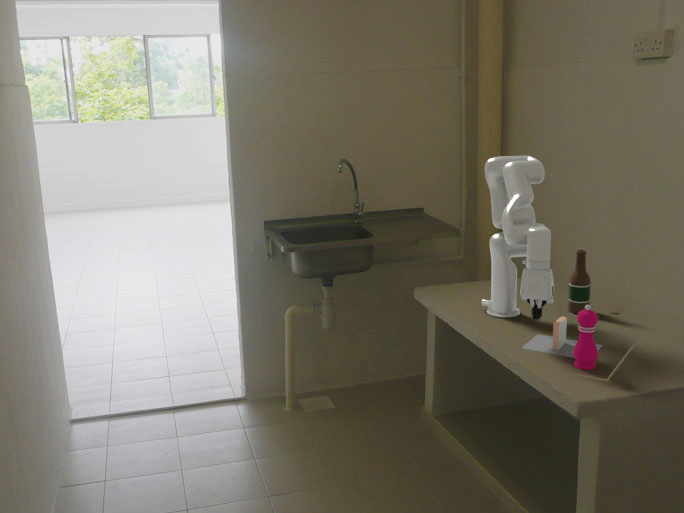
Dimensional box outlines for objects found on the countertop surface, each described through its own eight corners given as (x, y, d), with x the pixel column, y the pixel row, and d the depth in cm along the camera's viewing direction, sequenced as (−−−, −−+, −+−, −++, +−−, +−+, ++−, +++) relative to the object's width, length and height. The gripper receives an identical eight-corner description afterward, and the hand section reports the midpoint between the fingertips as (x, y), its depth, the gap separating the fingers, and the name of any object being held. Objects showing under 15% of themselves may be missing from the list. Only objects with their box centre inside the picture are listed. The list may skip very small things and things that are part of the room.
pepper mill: (568, 363, 215) (571, 302, 210) (591, 362, 215) (594, 300, 211) (578, 372, 208) (581, 309, 203) (601, 371, 208) (605, 307, 204)
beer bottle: (589, 309, 269) (592, 248, 263) (589, 315, 261) (592, 253, 256) (568, 307, 271) (570, 248, 266) (567, 313, 264) (570, 252, 259)
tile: (552, 349, 226) (553, 323, 224) (560, 342, 232) (561, 316, 230) (558, 350, 225) (559, 324, 223) (565, 343, 231) (567, 317, 229)
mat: (521, 349, 228) (521, 348, 227) (537, 335, 240) (537, 334, 240) (589, 362, 215) (589, 360, 215) (602, 346, 228) (602, 345, 228)
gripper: (512, 264, 228) (511, 318, 231) (557, 269, 219) (555, 324, 223) (520, 260, 234) (519, 312, 238) (564, 264, 226) (562, 318, 229)
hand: (536, 318), depth 230 cm, fingers closed
